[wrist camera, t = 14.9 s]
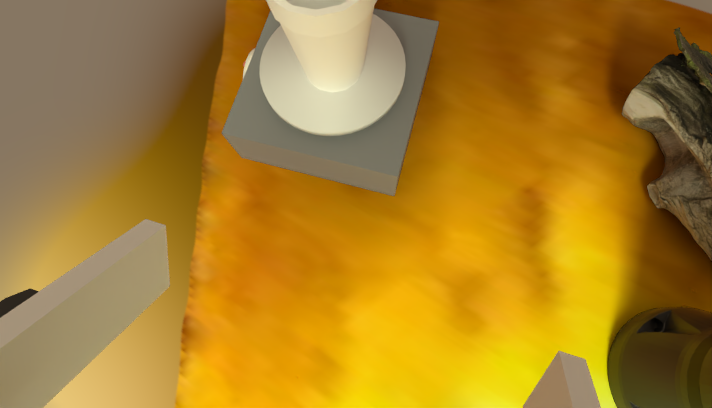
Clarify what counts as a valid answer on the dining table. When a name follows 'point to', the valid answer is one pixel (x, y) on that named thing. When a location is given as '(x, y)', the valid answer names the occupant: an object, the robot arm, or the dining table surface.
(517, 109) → the dining table surface
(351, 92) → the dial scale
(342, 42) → the foam cup
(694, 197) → the weathered wood log
